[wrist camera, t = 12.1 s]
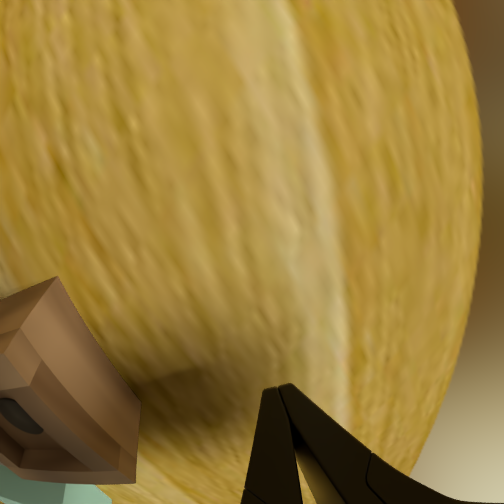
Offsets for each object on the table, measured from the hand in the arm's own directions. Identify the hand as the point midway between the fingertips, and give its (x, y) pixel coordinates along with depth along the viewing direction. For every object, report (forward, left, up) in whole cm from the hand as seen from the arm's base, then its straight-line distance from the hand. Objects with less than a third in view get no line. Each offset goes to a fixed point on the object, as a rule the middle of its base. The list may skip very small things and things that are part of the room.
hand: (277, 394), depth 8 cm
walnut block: (+8, 0, -3) cm, 9 cm away
